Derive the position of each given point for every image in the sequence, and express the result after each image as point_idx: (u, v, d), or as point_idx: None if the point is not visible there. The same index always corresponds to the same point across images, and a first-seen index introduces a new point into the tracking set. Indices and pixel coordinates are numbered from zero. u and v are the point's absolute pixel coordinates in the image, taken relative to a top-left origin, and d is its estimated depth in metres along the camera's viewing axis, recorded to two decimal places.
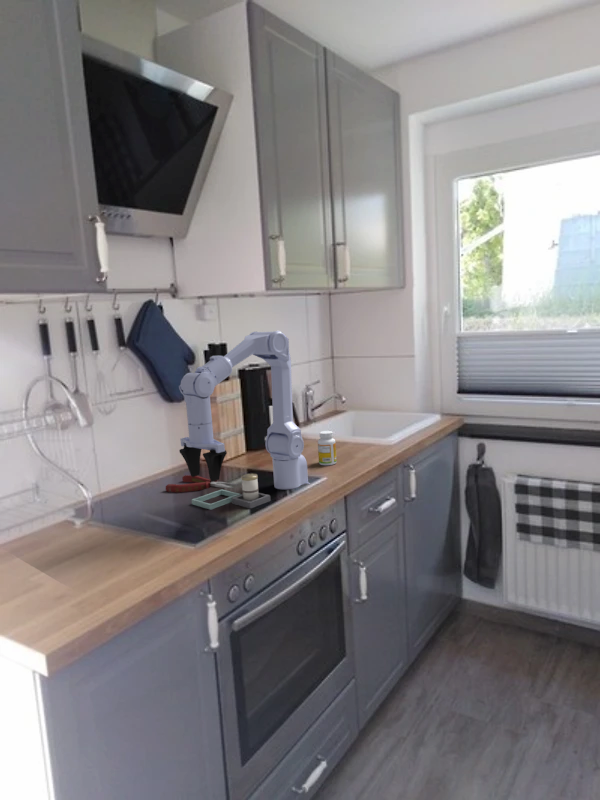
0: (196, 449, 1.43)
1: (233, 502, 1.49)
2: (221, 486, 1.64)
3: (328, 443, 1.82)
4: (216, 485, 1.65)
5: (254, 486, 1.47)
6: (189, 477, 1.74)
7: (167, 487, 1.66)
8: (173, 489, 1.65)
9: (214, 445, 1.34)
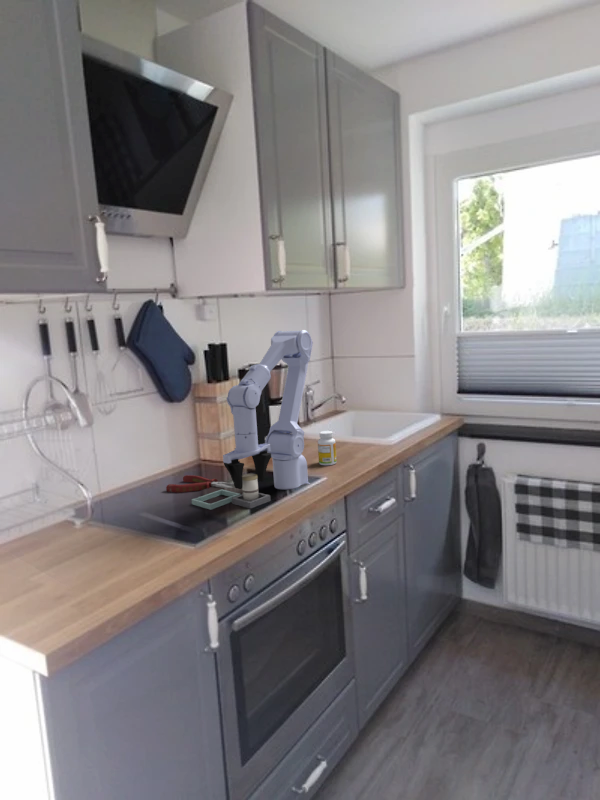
0: (261, 457, 1.50)
1: (233, 502, 1.49)
2: (222, 486, 1.64)
3: (328, 443, 1.82)
4: (217, 485, 1.65)
5: (254, 486, 1.47)
6: (190, 477, 1.74)
7: (168, 487, 1.65)
8: (173, 489, 1.65)
9: None
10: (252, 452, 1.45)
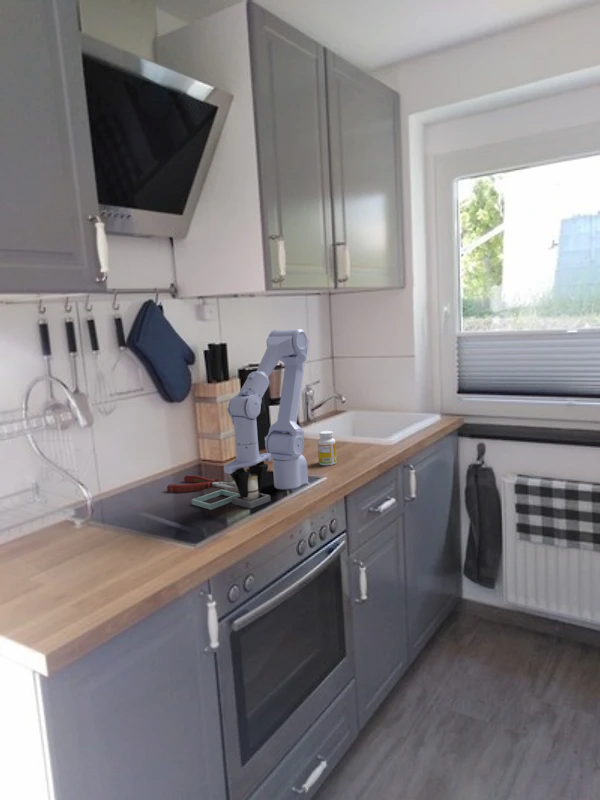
0: (257, 468, 1.49)
1: (233, 502, 1.49)
2: (223, 486, 1.64)
3: (328, 443, 1.82)
4: (218, 485, 1.65)
5: (254, 486, 1.47)
6: (191, 477, 1.74)
7: (169, 487, 1.65)
8: (174, 489, 1.65)
9: None
10: (253, 462, 1.45)
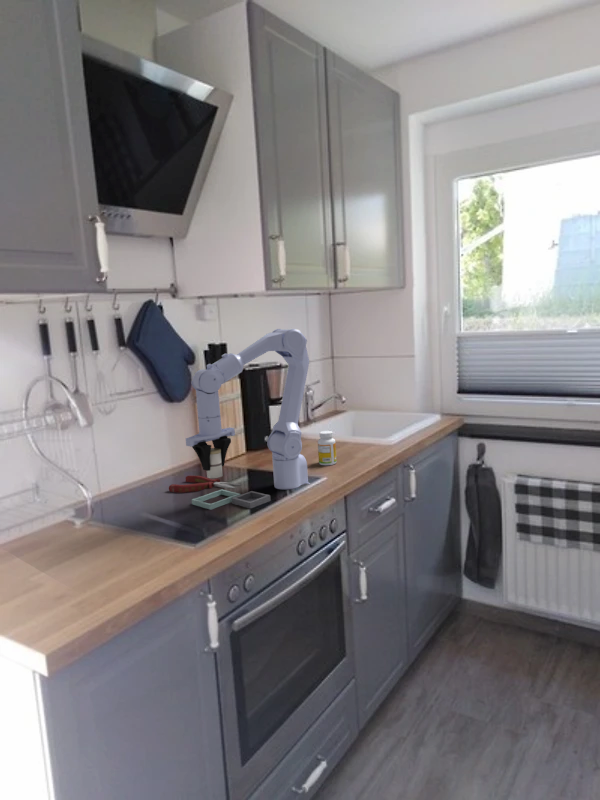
0: (220, 442, 1.51)
1: (233, 502, 1.49)
2: (224, 486, 1.64)
3: (328, 443, 1.82)
4: (219, 485, 1.64)
5: (218, 460, 1.49)
6: (192, 477, 1.74)
7: (170, 487, 1.65)
8: (176, 489, 1.64)
9: None
10: (215, 435, 1.47)
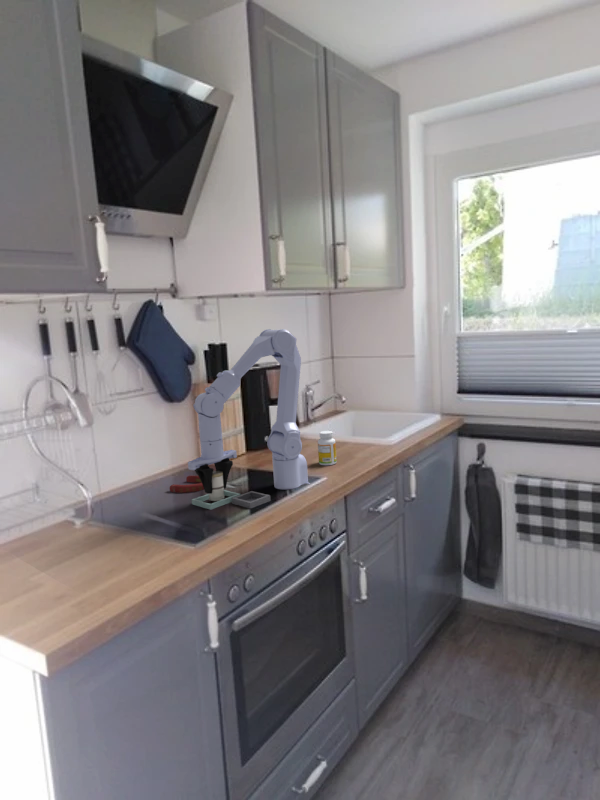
0: (222, 464, 1.51)
1: (233, 502, 1.49)
2: None
3: (328, 443, 1.82)
4: None
5: (219, 483, 1.49)
6: (193, 477, 1.74)
7: (171, 487, 1.65)
8: (177, 489, 1.64)
9: None
10: (217, 459, 1.48)
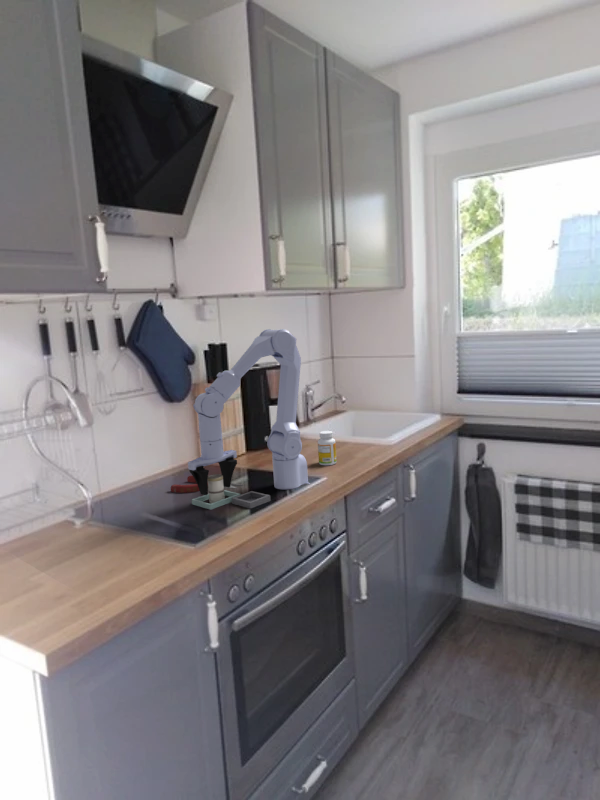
0: (227, 463, 1.52)
1: (233, 502, 1.49)
2: None
3: (328, 443, 1.82)
4: None
5: (220, 487, 1.50)
6: None
7: (172, 487, 1.65)
8: (178, 490, 1.64)
9: None
10: (217, 459, 1.48)
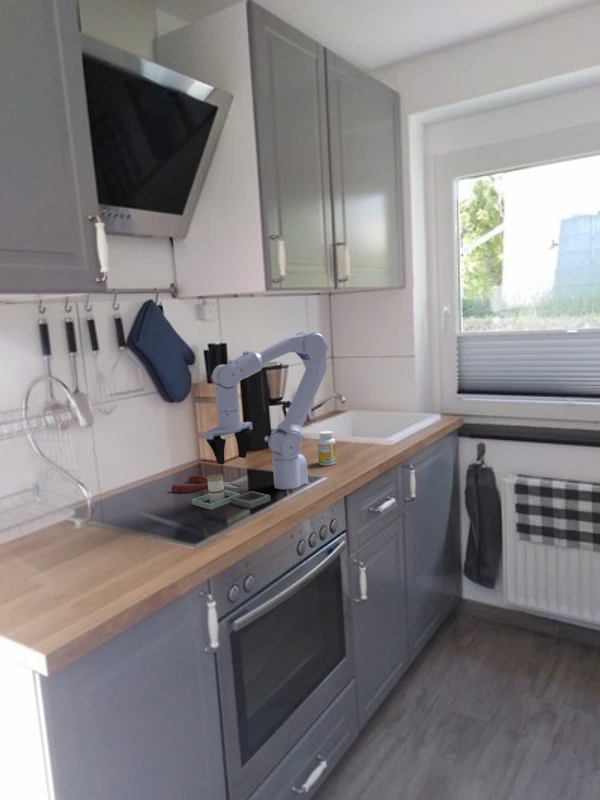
0: (243, 434, 1.55)
1: (233, 502, 1.49)
2: (227, 486, 1.63)
3: (328, 443, 1.82)
4: None
5: (220, 486, 1.50)
6: (195, 477, 1.73)
7: (173, 487, 1.65)
8: (179, 490, 1.64)
9: None
10: (234, 429, 1.50)
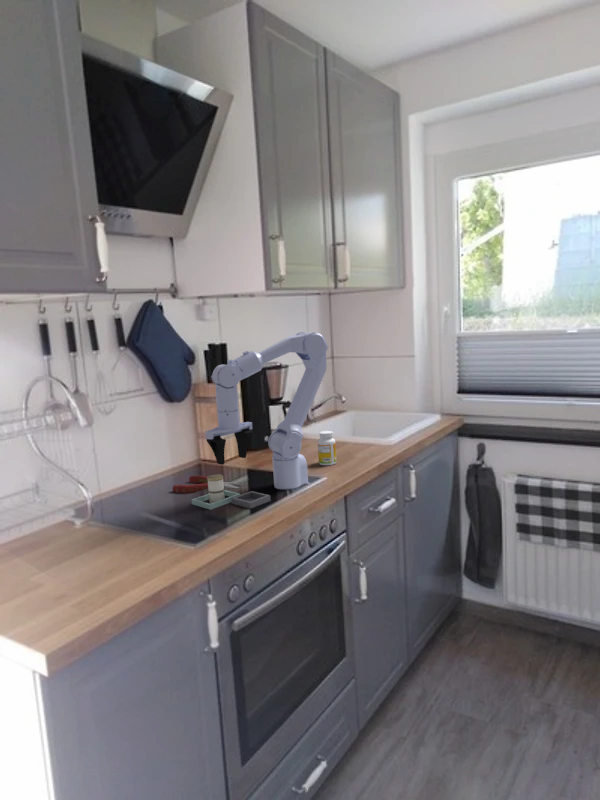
0: (243, 434, 1.55)
1: (233, 502, 1.49)
2: (228, 487, 1.63)
3: (328, 443, 1.82)
4: None
5: (220, 486, 1.50)
6: (196, 477, 1.73)
7: (174, 488, 1.65)
8: (180, 490, 1.64)
9: None
10: (234, 429, 1.50)
